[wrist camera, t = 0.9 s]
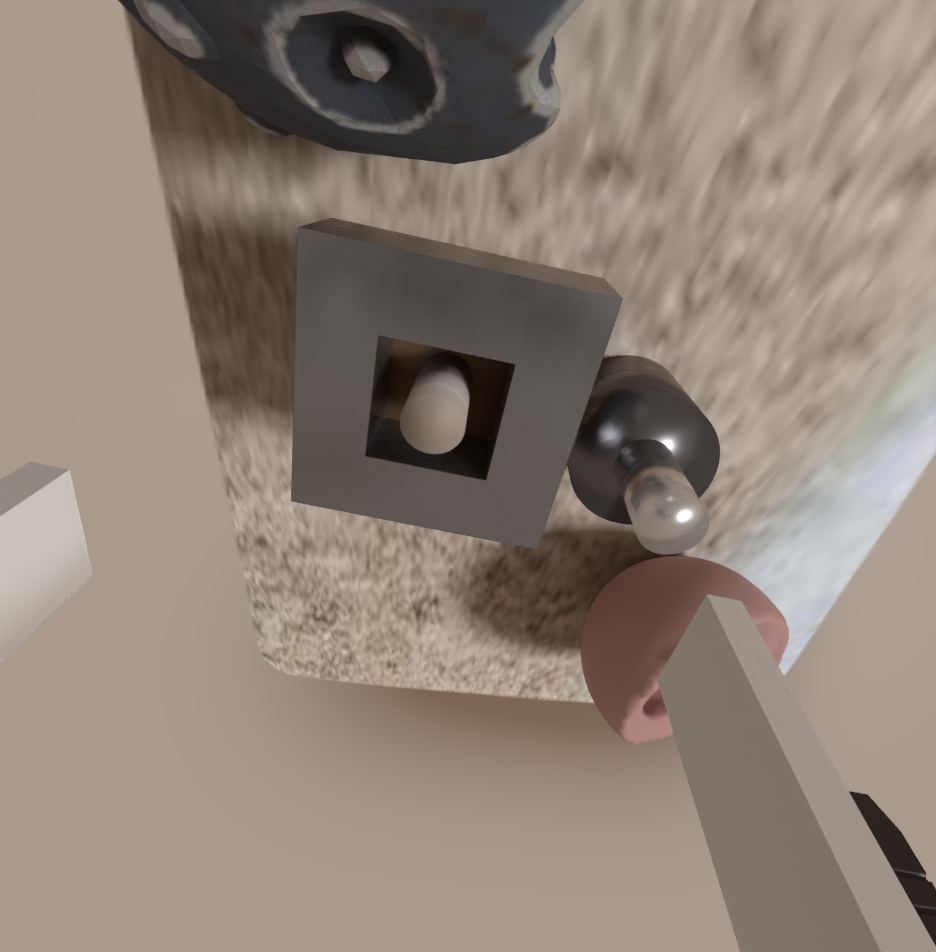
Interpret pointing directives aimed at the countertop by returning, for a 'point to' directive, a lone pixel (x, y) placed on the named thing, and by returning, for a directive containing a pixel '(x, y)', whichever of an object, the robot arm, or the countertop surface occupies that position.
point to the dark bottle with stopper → (645, 455)
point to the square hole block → (452, 328)
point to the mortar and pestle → (657, 635)
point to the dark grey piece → (376, 69)
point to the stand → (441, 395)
